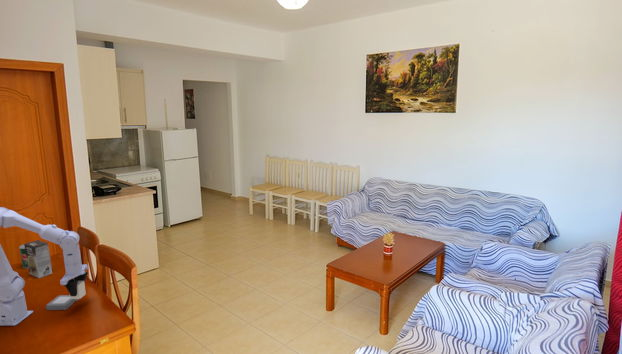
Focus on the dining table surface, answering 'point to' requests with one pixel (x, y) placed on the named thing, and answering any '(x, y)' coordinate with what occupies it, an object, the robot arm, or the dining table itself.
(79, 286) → the cream block
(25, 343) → the dining table surface
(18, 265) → the dining table surface
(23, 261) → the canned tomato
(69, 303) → the gray base
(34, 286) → the dining table surface
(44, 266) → the coffee box
